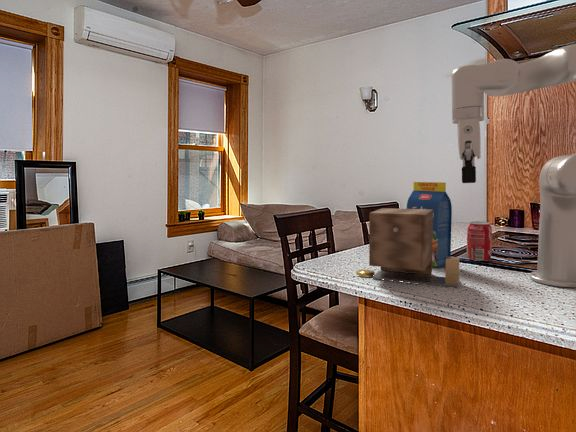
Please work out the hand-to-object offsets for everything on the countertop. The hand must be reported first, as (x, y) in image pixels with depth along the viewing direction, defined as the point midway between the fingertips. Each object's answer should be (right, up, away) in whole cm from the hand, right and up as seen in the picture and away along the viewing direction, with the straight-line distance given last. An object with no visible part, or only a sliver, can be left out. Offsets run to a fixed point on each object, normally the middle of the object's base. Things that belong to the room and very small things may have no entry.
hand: (469, 182), depth 106 cm
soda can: (+12, -23, +21) cm, 34 cm away
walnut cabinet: (-17, -26, +3) cm, 31 cm away
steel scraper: (-14, -26, 0) cm, 30 cm away
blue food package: (-5, -24, +19) cm, 30 cm away
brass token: (-26, -26, +6) cm, 37 cm away
